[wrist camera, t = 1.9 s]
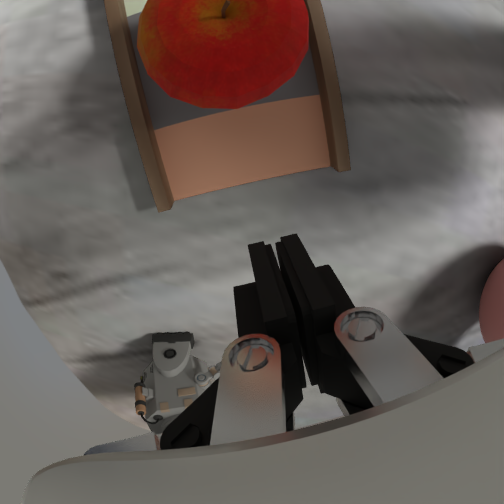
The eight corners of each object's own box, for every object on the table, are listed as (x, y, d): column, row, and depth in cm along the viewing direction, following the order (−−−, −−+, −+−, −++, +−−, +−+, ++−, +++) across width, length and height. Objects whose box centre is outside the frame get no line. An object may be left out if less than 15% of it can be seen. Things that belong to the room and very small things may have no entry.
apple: (195, -19, 16) (177, -99, 6) (303, 24, 19) (371, -26, 8) (143, 82, 20) (74, 73, 9) (251, 124, 22) (278, 148, 12)
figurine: (249, 380, 36) (263, 492, 23) (157, 383, 35) (145, 492, 22) (247, 325, 32) (265, 458, 19) (139, 330, 31) (111, 456, 18)
